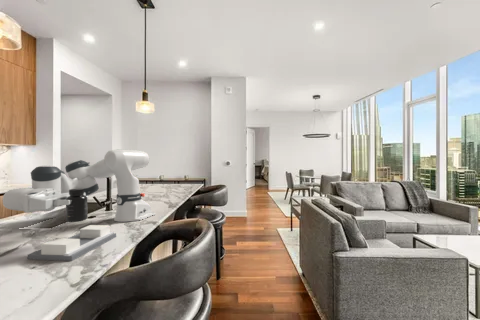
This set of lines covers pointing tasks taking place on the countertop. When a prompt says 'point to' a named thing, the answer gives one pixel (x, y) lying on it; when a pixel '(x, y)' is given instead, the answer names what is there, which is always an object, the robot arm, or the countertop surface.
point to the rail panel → (82, 241)
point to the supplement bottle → (76, 206)
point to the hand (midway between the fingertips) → (79, 200)
